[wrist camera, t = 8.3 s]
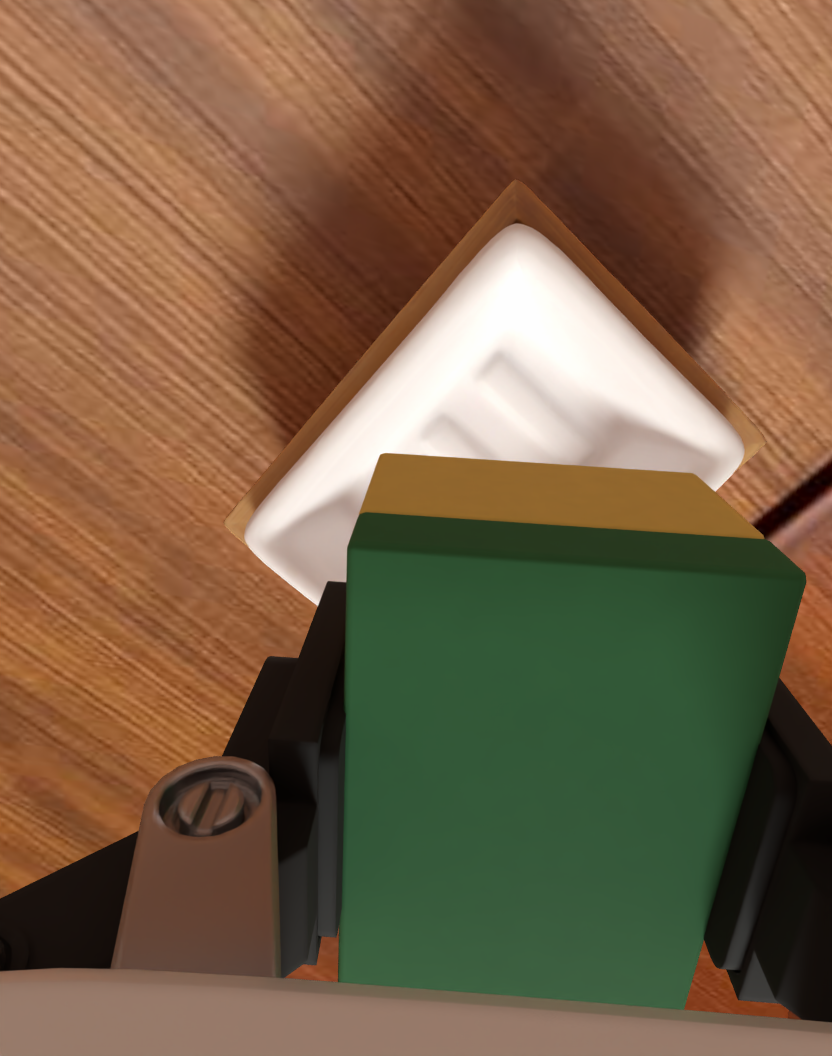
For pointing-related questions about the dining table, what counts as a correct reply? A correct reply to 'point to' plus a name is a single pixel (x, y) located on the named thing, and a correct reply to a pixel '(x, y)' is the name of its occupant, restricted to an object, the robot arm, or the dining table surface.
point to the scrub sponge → (548, 724)
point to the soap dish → (495, 390)
